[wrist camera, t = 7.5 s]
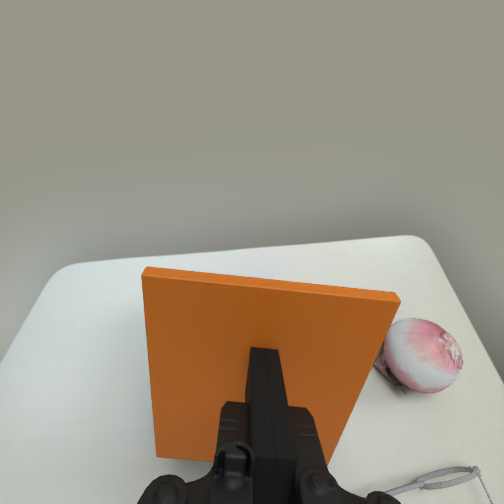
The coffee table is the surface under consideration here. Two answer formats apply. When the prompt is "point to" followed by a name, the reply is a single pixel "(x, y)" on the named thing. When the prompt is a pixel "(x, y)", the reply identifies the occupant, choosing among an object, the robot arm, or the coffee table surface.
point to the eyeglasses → (420, 482)
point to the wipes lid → (254, 335)
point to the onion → (420, 356)
